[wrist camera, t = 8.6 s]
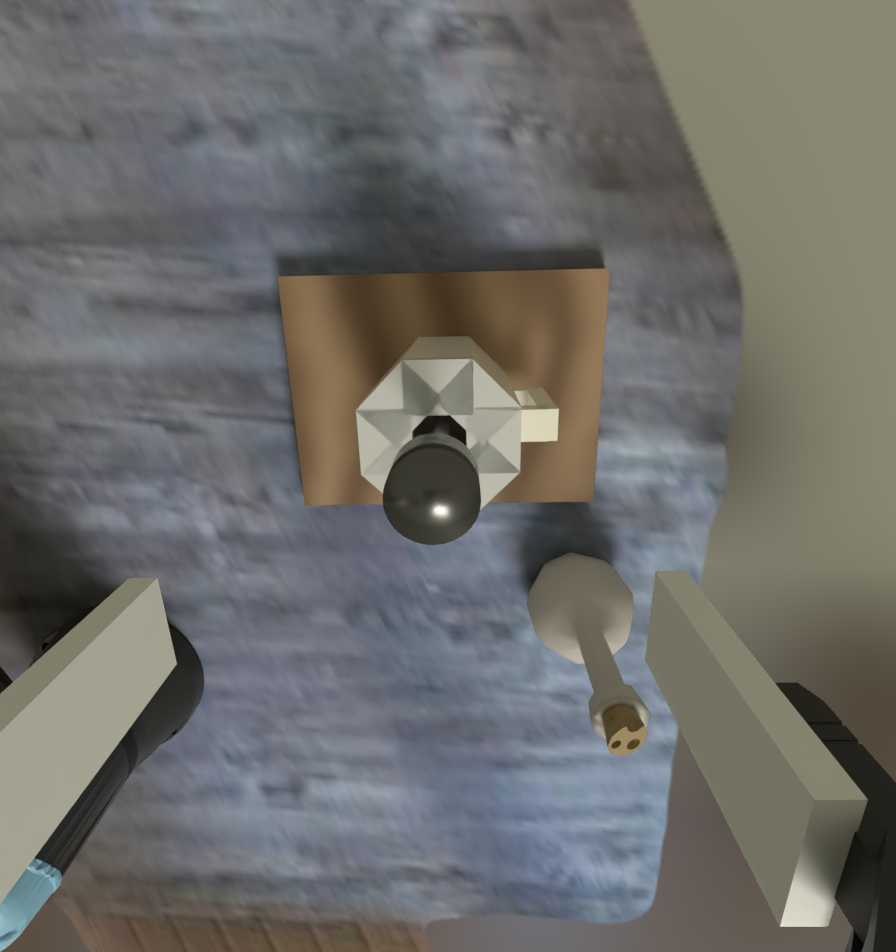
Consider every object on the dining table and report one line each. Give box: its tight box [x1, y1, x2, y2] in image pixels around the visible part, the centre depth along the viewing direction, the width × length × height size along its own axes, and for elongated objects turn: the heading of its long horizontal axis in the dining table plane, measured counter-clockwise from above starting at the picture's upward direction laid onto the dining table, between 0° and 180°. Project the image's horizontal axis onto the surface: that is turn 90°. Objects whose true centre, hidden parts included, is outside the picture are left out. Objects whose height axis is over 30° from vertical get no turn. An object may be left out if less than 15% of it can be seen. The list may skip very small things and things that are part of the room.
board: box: [277, 268, 610, 505], centre depth 43 cm, size 24×18×2 cm
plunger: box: [383, 415, 481, 545], centre depth 31 cm, size 4×4×20 cm
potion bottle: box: [527, 552, 650, 756], centre depth 41 cm, size 9×9×18 cm
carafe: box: [356, 336, 559, 509], centre depth 36 cm, size 12×9×13 cm
